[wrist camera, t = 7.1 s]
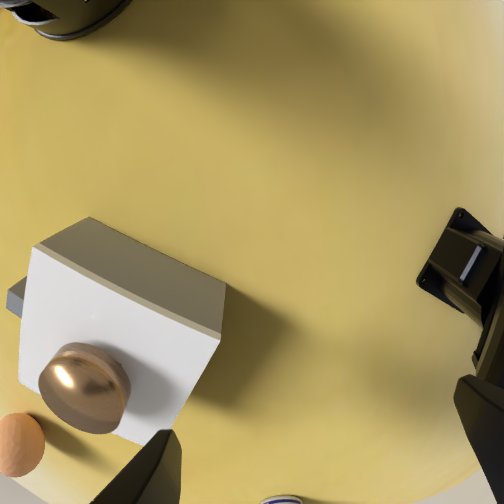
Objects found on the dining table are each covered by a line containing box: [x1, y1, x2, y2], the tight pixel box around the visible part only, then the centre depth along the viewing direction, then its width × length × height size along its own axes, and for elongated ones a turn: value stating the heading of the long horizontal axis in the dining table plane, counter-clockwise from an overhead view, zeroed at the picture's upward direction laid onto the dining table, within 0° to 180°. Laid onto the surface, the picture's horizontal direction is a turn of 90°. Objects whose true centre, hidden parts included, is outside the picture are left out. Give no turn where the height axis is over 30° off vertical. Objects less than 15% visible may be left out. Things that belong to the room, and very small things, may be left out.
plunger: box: [38, 342, 131, 434], centre depth 16 cm, size 5×5×8 cm
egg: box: [0, 413, 45, 477], centre depth 21 cm, size 6×6×8 cm
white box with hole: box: [6, 217, 226, 446], centre depth 18 cm, size 12×10×7 cm
